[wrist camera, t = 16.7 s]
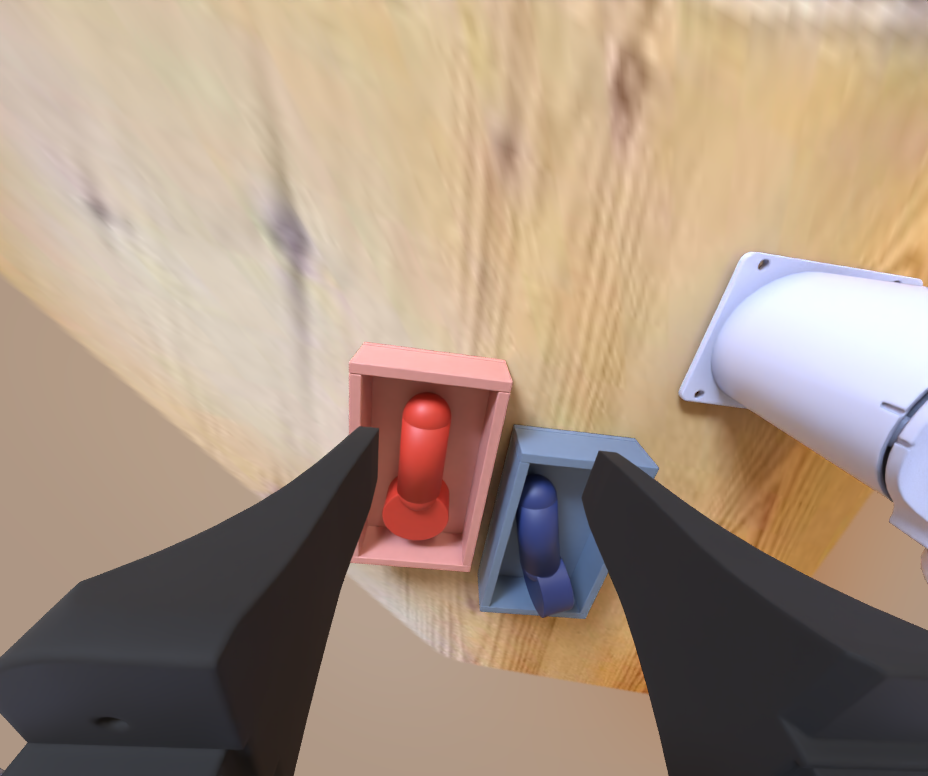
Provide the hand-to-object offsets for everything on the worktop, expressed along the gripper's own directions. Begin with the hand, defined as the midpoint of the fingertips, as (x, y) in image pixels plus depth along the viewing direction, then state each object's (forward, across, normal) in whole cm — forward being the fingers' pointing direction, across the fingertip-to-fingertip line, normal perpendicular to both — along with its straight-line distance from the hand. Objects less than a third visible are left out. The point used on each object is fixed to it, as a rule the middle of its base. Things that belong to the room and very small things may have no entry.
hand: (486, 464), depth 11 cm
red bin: (+9, +2, +6) cm, 11 cm away
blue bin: (+9, -7, +10) cm, 15 cm away
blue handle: (+7, -7, +11) cm, 14 cm away
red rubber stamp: (+8, +2, +6) cm, 11 cm away
